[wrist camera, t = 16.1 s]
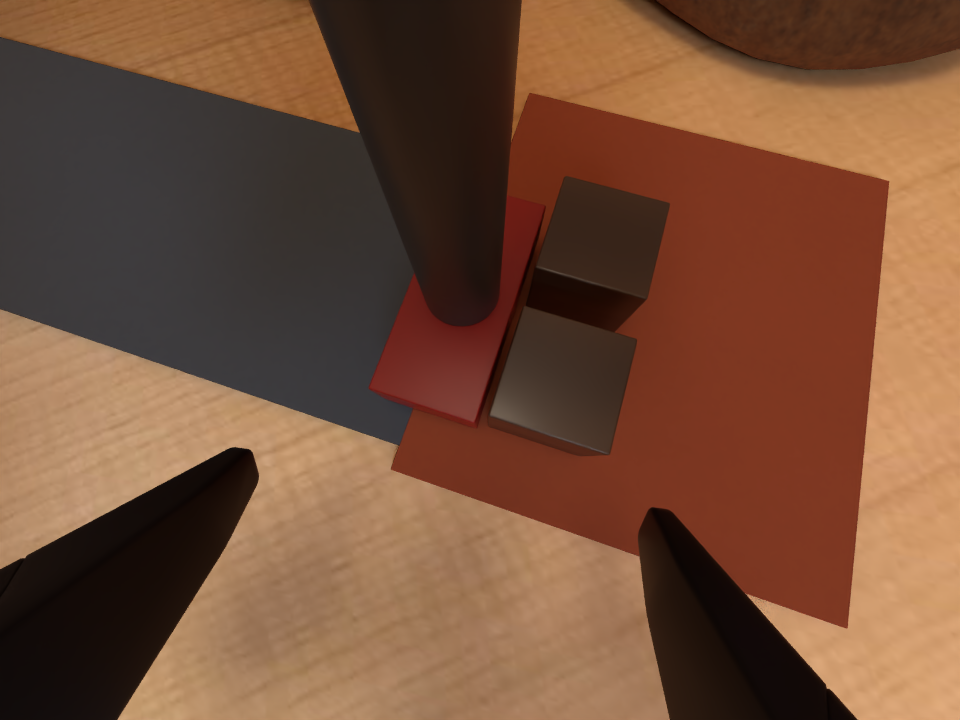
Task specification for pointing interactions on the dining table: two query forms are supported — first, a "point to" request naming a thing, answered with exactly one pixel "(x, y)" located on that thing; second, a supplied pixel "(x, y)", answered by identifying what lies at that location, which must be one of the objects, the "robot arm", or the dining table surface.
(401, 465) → the pad
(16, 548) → the dining table surface
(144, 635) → the robot arm
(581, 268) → the dark brown cube
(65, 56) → the plate
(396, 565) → the dining table surface
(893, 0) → the bread
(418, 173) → the red block with handle
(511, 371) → the crumb
